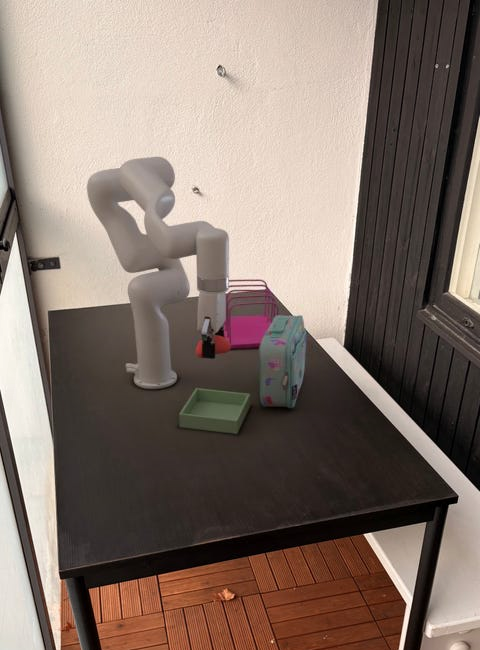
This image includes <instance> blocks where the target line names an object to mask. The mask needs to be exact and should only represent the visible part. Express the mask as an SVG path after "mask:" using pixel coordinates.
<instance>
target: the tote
mask: <svg viewBox="0 0 480 650" xmlns="http://www.w3.org/2000/svg"><path fill="white" fill-rule="evenodd" d="M250 407H251V393H245V392H238V391H237V392H236V391H228V390H227V391H226V390H217V389H208V388H198V387H196V388H195V389H194V391H193V392H192V394H191V395H190V396H189V399H188V400H187V402H186V403H185V404H184V406H183V407H182V409H181V410H180V412H179V414H178V417H179V428H185V429H192V430H199V431H200V430H202V431H210V432H218V433H224V434H225V433H226V434H234V435H238V433H239V431H240V428H241V427H242V424H243V423H244V420H245V419H246V417H247V414H248V413H249V409H250Z"/></svg>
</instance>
